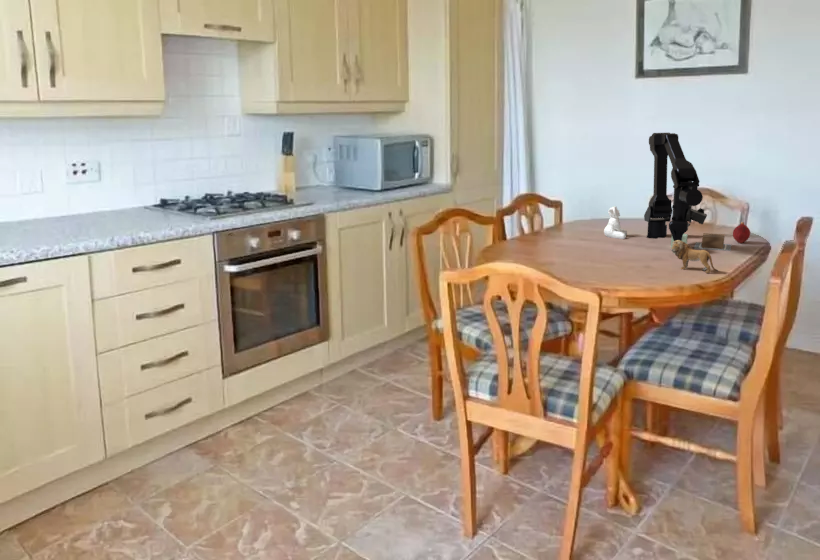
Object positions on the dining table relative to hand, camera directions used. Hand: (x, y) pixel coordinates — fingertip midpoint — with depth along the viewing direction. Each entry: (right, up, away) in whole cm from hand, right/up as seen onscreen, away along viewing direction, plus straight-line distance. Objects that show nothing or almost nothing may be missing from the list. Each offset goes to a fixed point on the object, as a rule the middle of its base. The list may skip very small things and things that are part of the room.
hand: (678, 245), depth 258 cm
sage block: (0, -1, 0) cm, 1 cm away
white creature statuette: (-16, +4, +25) cm, 30 cm away
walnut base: (+12, 0, 0) cm, 12 cm away
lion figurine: (-8, -9, -32) cm, 34 cm away
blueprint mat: (+12, -1, 0) cm, 12 cm away
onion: (+24, +1, +5) cm, 25 cm away
